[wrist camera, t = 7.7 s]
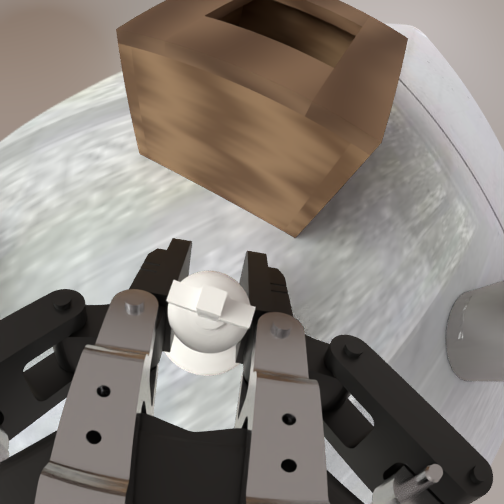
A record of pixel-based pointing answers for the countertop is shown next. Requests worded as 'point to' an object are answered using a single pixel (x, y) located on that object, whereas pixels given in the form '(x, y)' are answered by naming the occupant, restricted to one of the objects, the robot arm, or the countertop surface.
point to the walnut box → (261, 97)
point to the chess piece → (207, 322)
